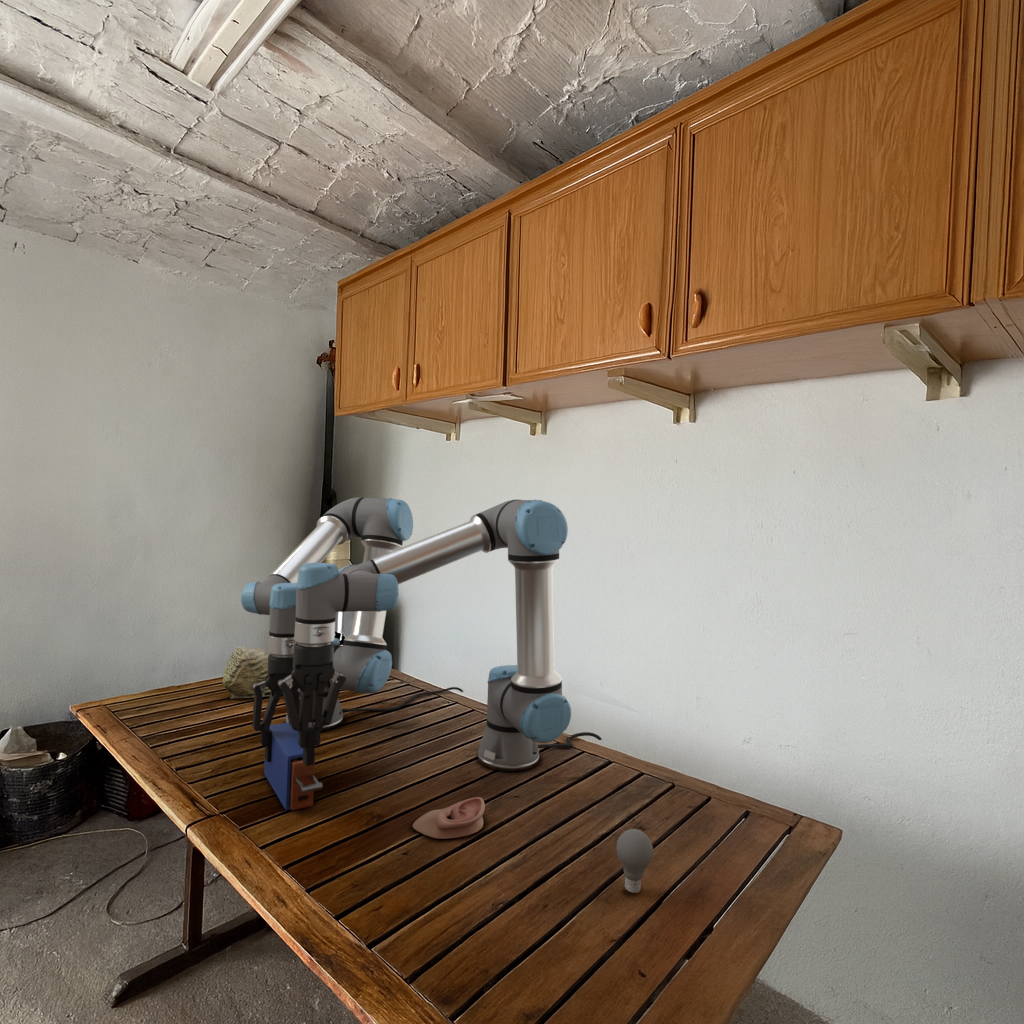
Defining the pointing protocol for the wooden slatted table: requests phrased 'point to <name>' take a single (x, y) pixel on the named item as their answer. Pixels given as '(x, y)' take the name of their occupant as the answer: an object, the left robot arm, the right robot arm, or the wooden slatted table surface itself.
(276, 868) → the wooden slatted table surface
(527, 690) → the right robot arm
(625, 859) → the light bulb
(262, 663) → the fossil
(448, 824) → the anatomical model
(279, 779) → the cabinet
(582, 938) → the wooden slatted table surface
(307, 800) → the drawer
